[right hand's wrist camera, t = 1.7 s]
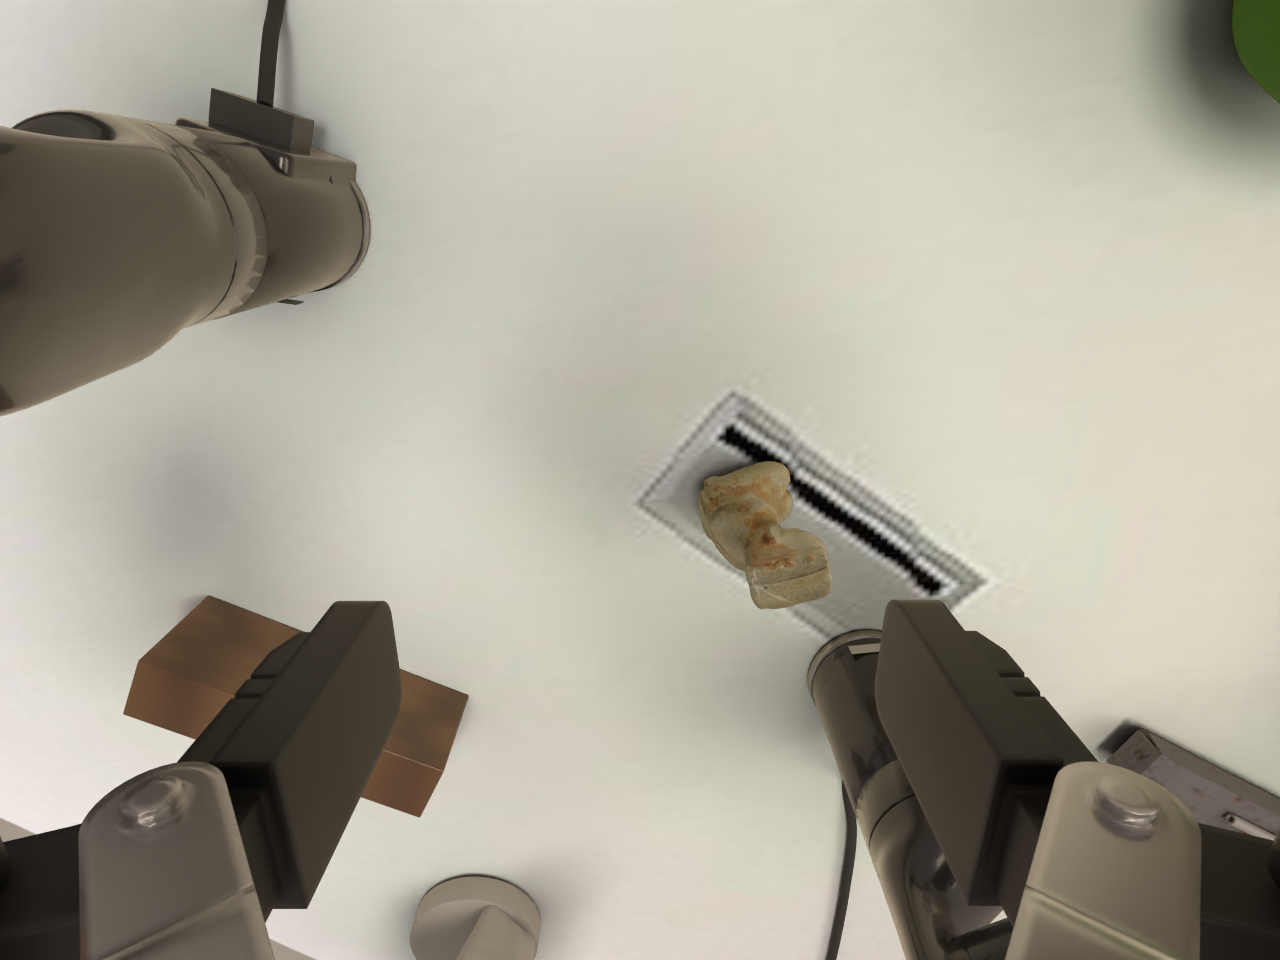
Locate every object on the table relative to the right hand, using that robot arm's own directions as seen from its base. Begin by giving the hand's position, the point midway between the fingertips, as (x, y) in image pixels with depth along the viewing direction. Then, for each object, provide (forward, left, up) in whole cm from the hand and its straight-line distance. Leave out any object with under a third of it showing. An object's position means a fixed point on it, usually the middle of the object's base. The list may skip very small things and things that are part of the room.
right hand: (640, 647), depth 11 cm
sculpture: (-16, -3, -42) cm, 45 cm away
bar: (-22, +35, -42) cm, 58 cm away
